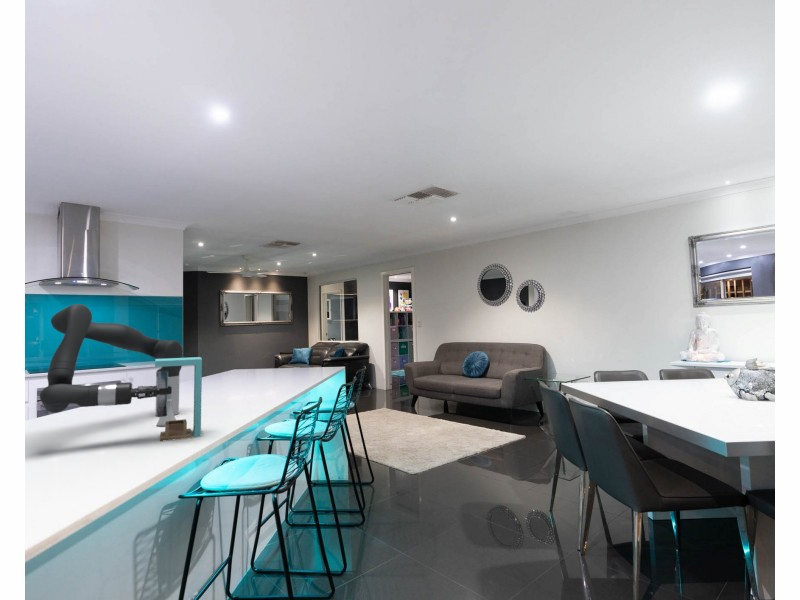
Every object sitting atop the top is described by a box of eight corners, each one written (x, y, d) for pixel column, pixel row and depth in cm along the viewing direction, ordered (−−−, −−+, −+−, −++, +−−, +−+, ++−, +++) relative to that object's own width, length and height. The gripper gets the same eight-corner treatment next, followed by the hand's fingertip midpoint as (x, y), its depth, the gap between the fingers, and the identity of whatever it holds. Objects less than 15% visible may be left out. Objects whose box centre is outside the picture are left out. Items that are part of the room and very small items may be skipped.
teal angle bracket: (154, 435, 157) (155, 358, 158) (199, 430, 164) (200, 357, 165) (153, 442, 148) (155, 361, 149) (200, 436, 155) (202, 359, 156)
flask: (170, 427, 169) (171, 401, 170) (152, 427, 169) (153, 401, 170) (180, 422, 176) (180, 398, 177) (163, 422, 176) (163, 398, 177)
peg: (156, 415, 155) (157, 371, 155) (167, 414, 156) (168, 370, 157) (156, 417, 152) (157, 372, 152) (167, 416, 153) (168, 371, 154)
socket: (160, 434, 158) (160, 420, 158) (190, 431, 163) (190, 417, 163) (159, 441, 149) (160, 426, 149) (191, 437, 154) (191, 423, 154)
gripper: (113, 386, 142) (171, 382, 150) (117, 380, 154) (171, 377, 162) (112, 408, 141) (171, 403, 149) (117, 401, 154) (171, 397, 162)
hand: (171, 390), depth 156 cm, fingers closed on peg, 3 cm apart
